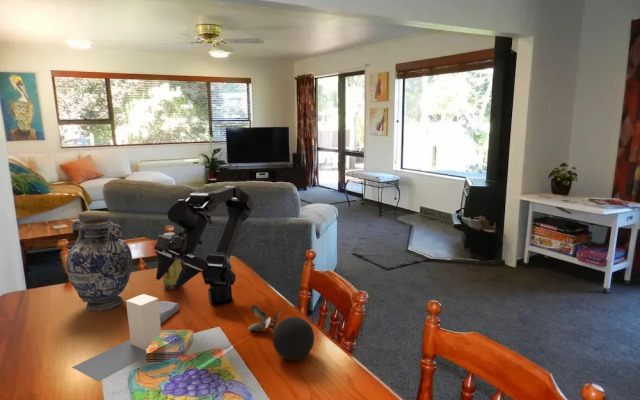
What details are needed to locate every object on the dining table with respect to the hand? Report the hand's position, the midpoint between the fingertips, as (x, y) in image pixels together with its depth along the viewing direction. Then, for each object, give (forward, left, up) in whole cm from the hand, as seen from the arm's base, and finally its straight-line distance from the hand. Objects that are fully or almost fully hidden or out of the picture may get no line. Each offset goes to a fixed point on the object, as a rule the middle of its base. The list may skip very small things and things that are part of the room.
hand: (166, 284), depth 115 cm
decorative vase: (+14, -29, -13) cm, 35 cm away
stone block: (+2, -9, -14) cm, 17 cm away
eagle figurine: (-21, +16, -13) cm, 30 cm away
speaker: (-21, +34, -13) cm, 42 cm away
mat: (+12, +9, -13) cm, 20 cm away
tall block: (+8, +7, -12) cm, 16 cm away
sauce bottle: (-8, -31, -13) cm, 35 cm away
